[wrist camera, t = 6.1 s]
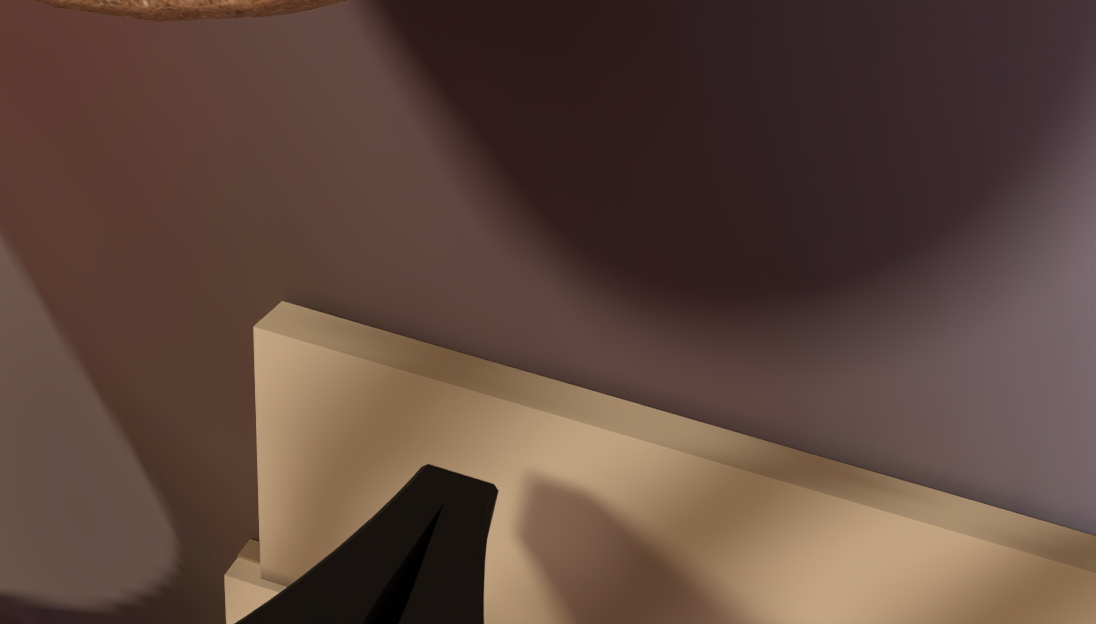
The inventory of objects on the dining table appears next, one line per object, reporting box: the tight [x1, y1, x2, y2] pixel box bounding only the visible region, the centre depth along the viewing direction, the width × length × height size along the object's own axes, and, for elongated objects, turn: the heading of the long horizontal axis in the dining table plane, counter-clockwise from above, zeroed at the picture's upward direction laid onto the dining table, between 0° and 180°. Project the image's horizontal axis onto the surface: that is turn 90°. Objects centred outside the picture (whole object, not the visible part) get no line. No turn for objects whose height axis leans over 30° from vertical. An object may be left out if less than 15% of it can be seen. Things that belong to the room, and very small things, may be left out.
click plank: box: [253, 301, 1096, 624], centre depth 16 cm, size 20×8×1 cm, turn 78°
